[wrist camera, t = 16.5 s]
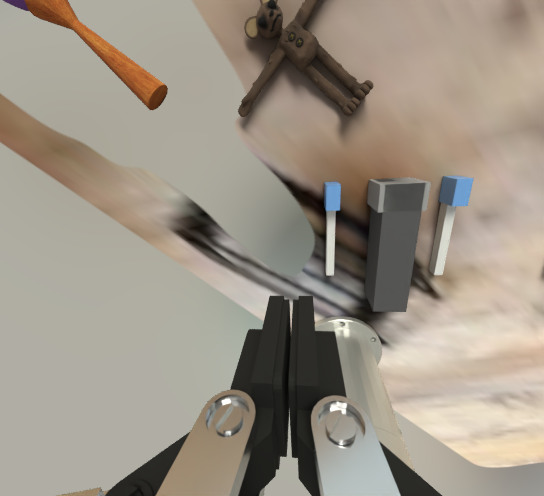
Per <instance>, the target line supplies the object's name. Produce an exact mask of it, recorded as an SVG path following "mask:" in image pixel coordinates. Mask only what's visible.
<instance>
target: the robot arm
mask: <svg viewBox="0 0 544 496" xmlns="http://www.w3.org/2000/svg"><path fill="white" fill-rule="evenodd" d="M381 356H382V346H381V342H380V340H379V337H378V335H377V334H376V332H375V331H374V330H373V329H372V328H371V327H370V326H369V325H368V324H366V323H364V322H363V321H360V320H358V319H355V318H351V317H343V316H338V317H330V318H326V319H323V320H321V321H319V322H317V323H315V321H314V307H313V296H299V300H293V314H292V330H291V327H290V304H289V300H284V296H270V297H269V302H268V306H267V311H266V315H265V320H264V324H263V329H262V330H259V329H250V330H248V333H247V336H246V339H245V342H244V346H243V349H242V352H241V356H240V359H239V362H238V366H237V369H236V372H235V375H234V379H233V382H232V385H231V389H230V390H227V391H222V392H221V393H219V394H217V395H215V396H214V397H212V398H211V399H210V400H209V401H208V402H207V404H206V405H205V406H204V408H203V409H202V411H201V413H200V415H199V417H198V418H197V420H196V422H195V424H194V426H193V428H192V430H191V431H190V432H189V433H188V434H186V435H185V436H183V437H182V438H181V439H179V440H178V441H176V442H175V443H173V444H172V445H171V446H169V447H168V448H166V449H165V450H164V451H162V452H161V453H159V454H158V455H157V456H155V457H154V458H152V459H151V460H150V461H148V462H147V463H145V464H144V465H142V466H141V467H140V468H138V469H137V470H135V471H134V472H133V473H131V474H130V475H128V476H127V477H125V478H124V479H123V480H121V481H120V482H119V483H117V484H116V485H115V486H114V487H113V488H112V489H110V490H108V491H102V489H101V488H95V489H90V490H84V491H79V492H73V493H68V494H63V495H58V496H264V488H265V486H266V485H267V484H268V483H269V482H270V481H271V480H272V479H273V478H274V477H275V474H276V469H279V464H280V456H282V457H286V456H287V442H288V422H289V408H290V426H291V446H292V457H293V458H298V471H299V479H300V481H301V482H302V483H303V485H304V486H305V487H306V489H307V490H308V491H309V493H310V494H311V495H312V496H442V495H441V494H440V493H438V492H437V491H436V490H435V489H434V488H433V487H432V486H430V485H429V484H428V483H427V482H426V481H424V480H423V479H422V478H421V477H420V476H419V475H418V474H417V473H415V471H414V468H413V465H412V462H411V460H410V457H409V454H408V451H407V449H406V446H405V443H404V440H403V437H402V434H401V431H400V428H399V425H398V422H397V420H396V417H395V414H394V411H393V408H392V405H391V402H390V400H389V397H388V394H387V391H386V388H385V385H384V382H383V380H382V377H381V374H380V371H379V368H378V363H379V362H380V360H381Z"/></svg>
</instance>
